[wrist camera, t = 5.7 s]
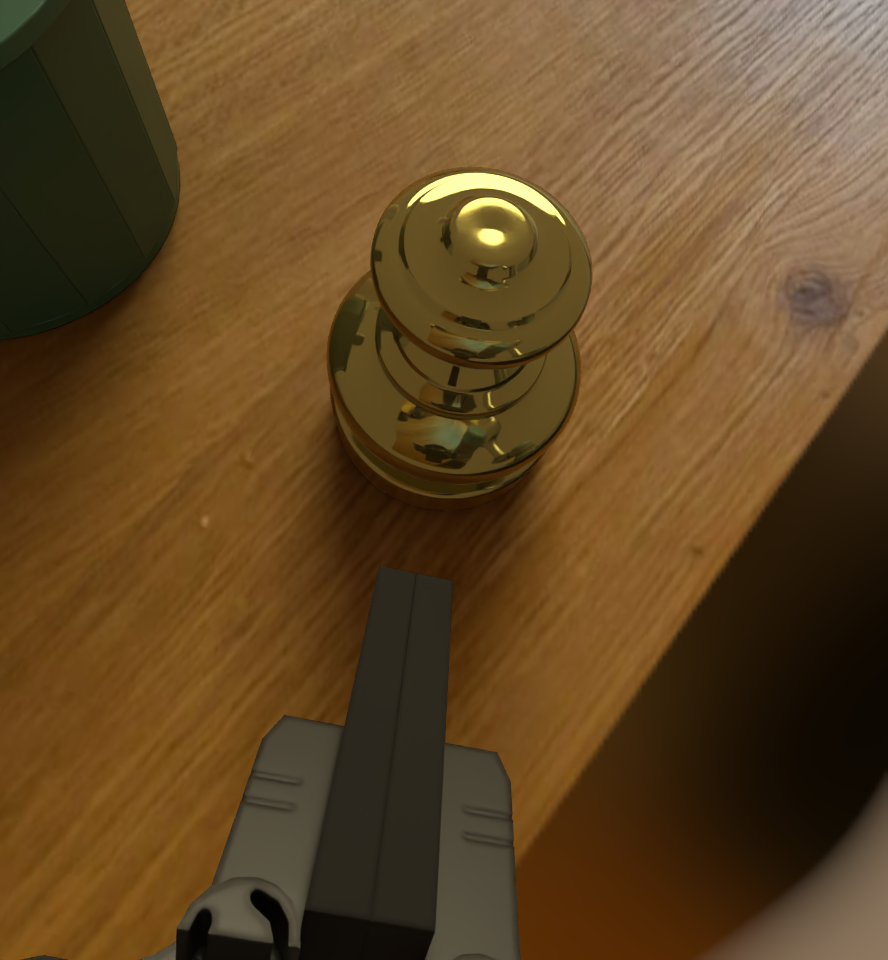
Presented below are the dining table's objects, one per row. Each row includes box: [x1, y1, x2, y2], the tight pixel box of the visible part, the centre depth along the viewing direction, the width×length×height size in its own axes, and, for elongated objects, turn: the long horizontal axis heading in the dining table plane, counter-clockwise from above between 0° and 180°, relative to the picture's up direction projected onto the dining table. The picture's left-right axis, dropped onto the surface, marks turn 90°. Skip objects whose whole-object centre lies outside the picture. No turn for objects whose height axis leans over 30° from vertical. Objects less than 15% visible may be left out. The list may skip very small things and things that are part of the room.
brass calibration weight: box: [326, 167, 592, 510], centre depth 19 cm, size 7×7×10 cm
